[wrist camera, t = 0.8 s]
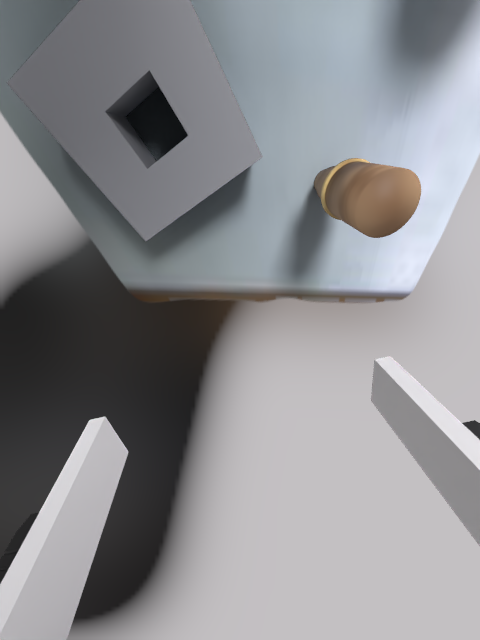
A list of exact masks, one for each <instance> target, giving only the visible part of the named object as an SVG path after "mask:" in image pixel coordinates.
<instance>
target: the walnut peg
mask: <svg viewBox="0 0 480 640" xmlns="http://www.w3.org/2000/svg"><path fill="white" fill-rule="evenodd" d="M314 187H315V190H316V191H317V194H318V196H319V197H320V198H321V203H322V206H323V208H324V210H325V212H326V213H327V214H329V215H330V216H331V217H333V218H335V219H338V220H342V221H344V222H345V223H347V224H348V225H350V226H352V227H353V228H355V229H357V230H358V231H360V232H361V233H363V234H365V235H367V236H369V237H373V238H380V237H385V236H388V235H390V234H392V233H394V232H396V231H397V230H399V229H400V228H401V227H402V226H404V225H405V224H406V223H407V222H408V220H409V219H410V218H411V217H412V215H413V214H414V212H415V210H416V208H417V206H418V203H419V200H420V196H421V185H420V181H419V178H418V177H417V175H416V174H415V173H414V172H412V171H411V170H409V169H405V168H400V167H393V166H387V165H380V164H374V163H370V162H368V161H366V160H364V159H358V158H352V159H347V160H345V161H342V162H341V163H339V164H338V165H336V166H332V167H329V168H327V169H325V170H322V171H321V172H319V173H318V175H317V176H316V178H315V181H314Z"/></svg>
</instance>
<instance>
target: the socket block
mask: <svg viewBox="0 0 480 640" xmlns="http://www.w3.org/2000/svg"><path fill="white" fill-rule="evenodd" d="M7 84H8V85H9V87H10V88H11V89H12V90H13V91H14V92H15V93H16V95H17V96H18V97H19V98H20V99H21V100H22V101H23V103H24V104H25V105H26V106H27V107H28V108H29V109H30V110H31V112H32V113H33V114H34V115H35V116H36V117H37V118H38V120H39V121H40V122H41V123H42V124H43V125H44V126H45V128H46V129H47V130H48V131H49V132H50V133H51V134H52V136H53V137H54V138H55V139H56V140H57V141H58V142H59V144H60V145H61V146H62V147H63V148H64V149H65V150H66V151H67V153H68V154H69V155H70V156H71V157H72V158H73V159H74V161H75V162H76V163H77V164H78V165H79V166H80V167H81V169H82V170H83V171H84V172H85V173H86V174H87V175H88V177H89V178H90V179H91V180H92V181H93V182H94V183H95V184H96V186H97V187H98V188H99V189H100V190H101V191H102V192H103V194H104V195H105V196H106V197H107V198H108V199H109V200H110V202H111V203H112V204H113V205H114V206H115V207H116V208H117V210H118V211H119V212H120V213H121V214H122V215H123V216H124V218H125V219H126V220H127V221H128V222H129V223H130V224H131V225H132V227H133V228H134V229H135V230H136V231H137V232H138V233H139V235H140V236H141V237H142V238H143V239H144V240H145V241H147V240H149V239H150V238H151V237H153V236H154V235H156V234H157V233H158V232H160V231H161V230H163V229H164V228H165V227H167V226H168V225H169V224H171V223H172V222H174V221H175V220H176V219H178V218H179V217H180V216H182V215H183V214H185V213H186V212H187V211H189V210H190V209H192V208H193V207H194V206H196V205H197V204H198V203H200V202H201V201H203V200H204V199H205V198H207V197H208V196H210V195H211V194H212V193H214V192H215V191H216V190H218V189H219V188H221V187H222V186H223V185H225V184H226V183H228V182H229V181H230V180H232V179H233V178H234V177H236V176H237V175H239V174H240V173H241V172H243V171H244V170H245V169H247V168H248V167H250V166H251V165H252V164H254V163H255V162H257V161H258V160H259V159H261V158H262V155H261V152H260V150H259V148H258V146H257V144H256V142H255V139H254V137H253V135H252V133H251V131H250V129H249V126H248V124H247V122H246V120H245V118H244V116H243V113H242V111H241V109H240V107H239V105H238V103H237V100H236V98H235V96H234V94H233V92H232V90H231V87H230V85H229V83H228V81H227V79H226V77H225V74H224V72H223V70H222V68H221V66H220V64H219V61H218V59H217V57H216V55H215V53H214V51H213V48H212V46H211V44H210V42H209V40H208V38H207V35H206V33H205V31H204V29H203V27H202V25H201V22H200V20H199V18H198V16H197V14H196V12H195V9H194V7H193V5H192V3H191V1H190V0H80V1H79V2H78V3H77V4H76V5H75V6H74V7H73V9H72V10H71V11H70V12H69V13H68V14H67V15H66V16H65V18H64V19H63V20H62V21H61V22H60V23H59V24H58V26H57V27H56V28H55V29H54V30H53V31H52V32H51V33H50V35H49V36H48V37H47V38H46V39H45V40H44V41H43V42H42V44H41V45H40V46H39V47H38V48H37V49H36V50H35V51H34V53H33V54H32V55H31V56H30V57H29V58H28V59H27V60H26V62H25V63H24V64H23V65H22V66H21V67H20V68H19V69H18V71H17V72H16V73H15V74H14V75H13V76H12V77H11V78H10V80H9V81H8V82H7ZM158 87H160V89H161V90H162V92H163V94H164V95H165V97H166V99H167V101H168V102H169V104H170V106H171V107H172V109H173V111H174V112H175V114H176V116H177V117H178V119H179V121H180V122H181V124H182V126H183V127H184V129H185V131H186V132H187V134H188V136H187V137H186V138H185V139H184V140H182V141H181V142H180V143H179V144H178V145H176V146H175V147H174V148H173V149H171V150H170V151H169V152H168V153H166V154H165V155H164V156H163V157H162V158H160V159H159V160H158V161H156V160H155V158H154V157H153V155H152V154H151V153H150V151H149V150H148V148H147V147H146V145H145V144H144V143H143V141H142V140H141V138H140V137H139V135H138V134H137V133H136V131H135V130H134V128H133V127H132V125H131V124H130V123H129V121H128V120H127V118H126V116H127V115H128V114H129V113H130V112H131V111H132V110H133V109H135V108H136V107H137V106H138V105H139V104H140V103H141V102H142V101H143V100H145V99H146V98H147V97H148V96H149V95H150V94H151V93H152V92H153V91H154V90H156V89H157V88H158Z"/></svg>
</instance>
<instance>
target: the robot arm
mask: <svg viewBox="0 0 480 640" xmlns="http://www.w3.org/2000/svg"><path fill="white" fill-rule="evenodd" d="M371 401H372V402H373V404H374V405H375V406H376V408H377V409H378V411H379V412H380V413H381V415H382V416H383V417H384V419H385V420H386V421H387V423H388V424H389V425H390V427H391V428H392V429H393V431H394V432H395V433H396V435H397V436H398V437H399V439H400V440H401V441H402V443H403V444H404V445H405V447H406V448H407V449H408V451H409V452H410V453H411V455H412V456H413V457H414V459H415V460H416V461H417V463H418V464H419V466H420V467H421V468H422V470H423V471H424V472H425V474H426V475H427V476H428V478H429V479H430V480H431V481H432V483H433V484H434V486H435V487H436V488H437V490H438V491H439V492H440V493H441V495H442V496H443V497H444V499H445V500H446V502H447V503H448V504H449V506H450V507H451V508H452V510H453V511H454V512H455V514H456V515H457V516H458V517H459V519H460V520H461V522H462V523H463V524H464V526H465V527H466V528H467V530H468V531H469V532H470V534H471V535H472V536H473V538H474V539H475V540H476V542H477V543H478V544H479V546H480V423H478V422H476V421H475V420H474V421H470V422H465V423H461V422H460V421H459V420H458V419H457V418H456V417H455V416H454V415H453V414H452V413H451V412H449V411H448V410H447V409H446V408H445V407H444V406H443V405H442V404H441V403H440V402H439V401H438V400H437V399H436V398H435V397H433V396H432V395H431V394H430V393H429V392H428V391H427V390H426V389H425V388H424V387H423V386H422V385H421V384H420V383H419V382H417V381H416V380H415V379H414V378H413V377H412V376H411V375H410V374H409V373H408V372H407V371H406V370H405V369H404V368H403V367H401V366H400V365H399V364H398V363H397V362H396V361H395V360H394V359H393V358H392V357H391V356H388V357H384V358H379V359H375V360H374V372H373V383H372V396H371ZM127 455H128V451H127V449H126V448H125V446H124V445H123V443H122V441H121V440H120V438H119V437H118V435H117V434H116V432H115V431H114V429H113V428H112V426H111V425H110V423H109V422H108V420H107V418H106V417H101V418H97V419H92V420H89V422H88V424H87V426H86V428H85V430H84V431H83V433H82V435H81V437H80V439H79V441H78V442H77V444H76V446H75V448H74V450H73V452H72V453H71V455H70V457H69V459H68V461H67V463H66V464H65V466H64V468H63V470H62V472H61V474H60V476H59V477H58V479H57V481H56V483H55V485H54V487H53V488H52V490H51V492H50V494H49V496H48V498H47V499H46V501H45V503H44V505H43V507H42V509H41V510H40V512H39V513H35V514H31V515H30V516H29V518H28V519H27V520H26V521H25V522H24V523H23V525H22V526H21V527H20V528H19V529H18V530H17V532H16V533H15V535H14V537H13V539H12V540H11V542H10V543H9V545H8V547H7V549H6V550H5V554H4V556H2V557H1V559H0V640H67V637H68V634H69V630H70V628H71V624H72V621H73V618H74V615H75V612H76V609H77V606H78V603H79V600H80V597H81V594H82V591H83V588H84V585H85V582H86V579H87V576H88V573H89V569H90V567H91V564H92V561H93V558H94V554H95V552H96V549H97V546H98V543H99V540H100V536H101V533H102V530H103V527H104V524H105V521H106V518H107V515H108V512H109V509H110V506H111V503H112V500H113V497H114V494H115V491H116V488H117V485H118V481H119V479H120V476H121V473H122V469H123V467H124V464H125V460H126V457H127Z"/></svg>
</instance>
